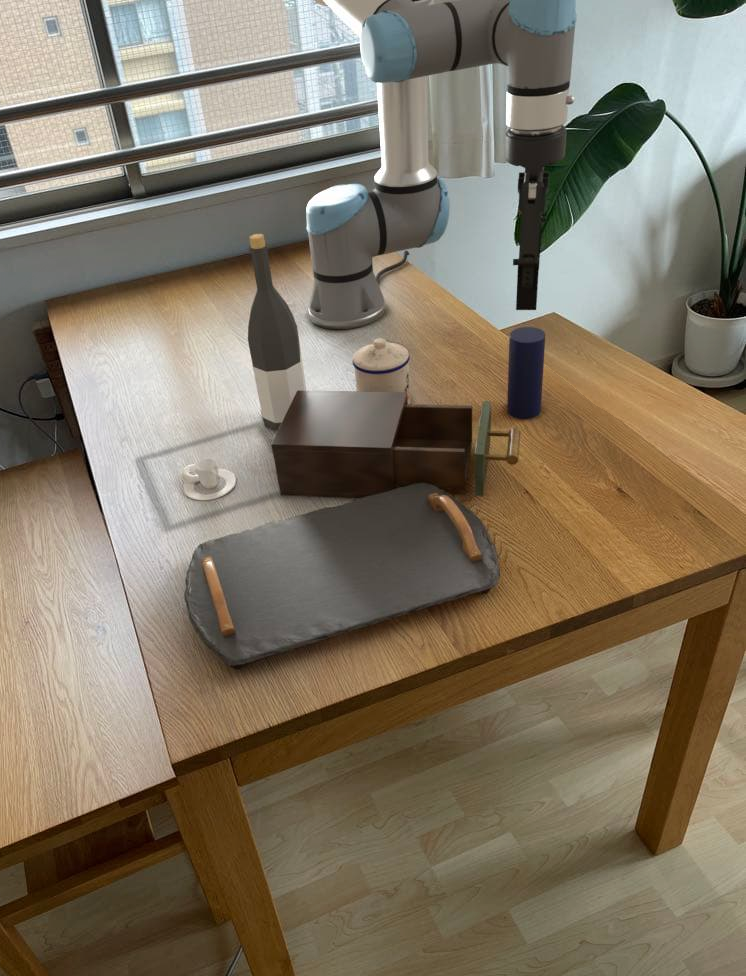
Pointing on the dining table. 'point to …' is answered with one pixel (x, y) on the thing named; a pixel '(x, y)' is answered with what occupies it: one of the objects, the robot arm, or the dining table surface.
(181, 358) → the dining table surface
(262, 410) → the wine bottle
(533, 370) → the navy cylinder
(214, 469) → the teacup and saucer
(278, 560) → the serving tray
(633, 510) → the dining table surface
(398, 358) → the teacup with lid
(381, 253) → the robot arm
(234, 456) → the dining table surface
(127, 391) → the dining table surface
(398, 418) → the cabinet
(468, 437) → the drawer
